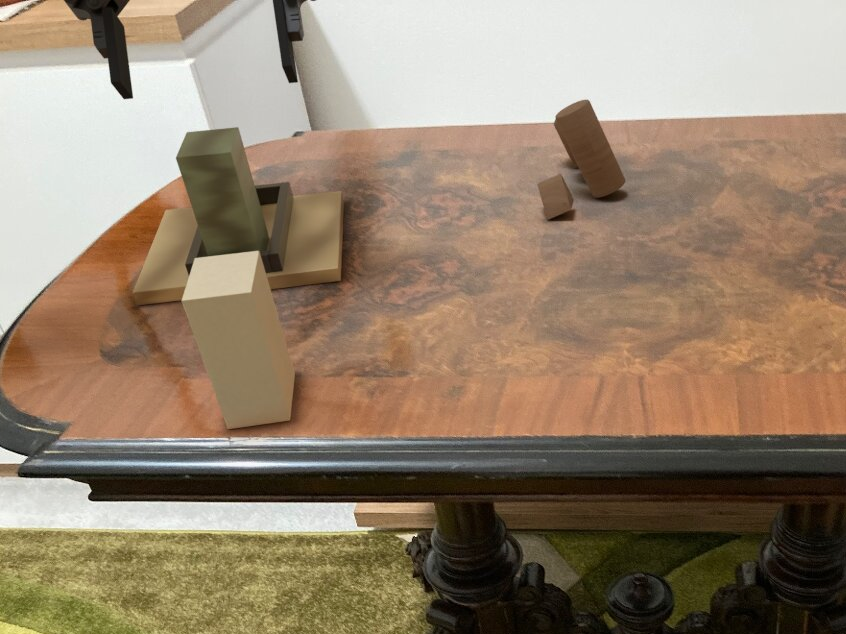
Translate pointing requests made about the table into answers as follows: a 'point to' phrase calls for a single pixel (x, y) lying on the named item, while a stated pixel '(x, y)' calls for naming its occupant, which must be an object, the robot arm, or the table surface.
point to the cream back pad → (240, 338)
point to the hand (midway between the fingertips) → (207, 83)
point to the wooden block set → (581, 159)
